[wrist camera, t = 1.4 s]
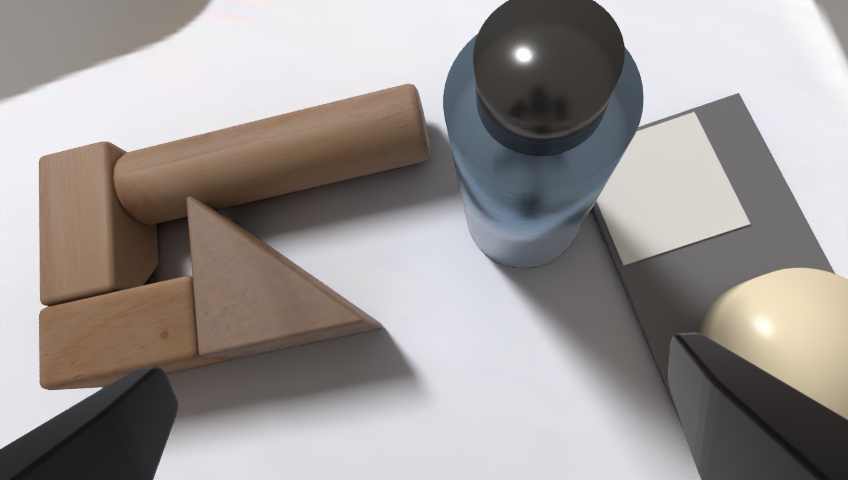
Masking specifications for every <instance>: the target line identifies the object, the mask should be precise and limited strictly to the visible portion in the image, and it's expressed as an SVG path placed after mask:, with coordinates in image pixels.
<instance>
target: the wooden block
mask: <svg viewBox="0 0 848 480" xmlns="http://www.w3.org/2000/svg"><path fill="white" fill-rule="evenodd" d="M430 157H431V145H430V140H429V135H428V130H427V125H426V121H425V116H424V112H423V108H422V104H421V100H420V96H419V93H418V90H417V89H416V87H415V86H414V85H412V84H405V85H401V86H397V87H393V88H389V89H384V90H380V91H376V92H372V93H368V94H364V95H360V96H356V97H352V98H348V99H344V100H340V101H336V102H331V103H327V104H323V105H319V106H315V107H311V108H307V109H303V110H299V111H295V112H291V113H287V114H283V115H278V116H274V117H270V118H266V119H262V120H258V121H254V122H250V123H246V124H242V125H238V126H234V127H230V128H225V129H221V130H217V131H213V132H209V133H205V134H201V135H197V136H193V137H189V138H185V139H181V140H177V141H172V142H168V143H164V144H160V145H156V146H152V147H148V148H144V149H140V150H136V151H132V152H126V151H124V150H122V149H121V148H119V147H117V146H115V145H114V144H112V143H110V142H98V143H94V144H90V145H86V146H82V147H78V148H74V149H70V150H66V151H62V152H58V153H54V154H50V155H46V156H43V157H41V158H40V160H39V227H40V301H41V303H42V304H43V305H46V306H49V307H46V308H44V309H42V310H41V312H40V314H39V354H40V385H41V387H42V388H44V389H48V390H61V389H78V388H96V387H103V386H108V385H109V384H111V383H113V382H114V381H116V380H118V379H119V378H121V377H123V376H125V375H126V374H128V373H130V372H131V371H133V370H135V369H137V368H141V367H156V366H157V367H161V368H162V369H163V370H164V371H165V373H171V372H176V371H181V370H186V369H191V368H196V367H200V366H205V365H210V364H215V363H220V362H225V361H229V360H230V359H232V358H233V357H237V358H241V357H246V356H251V355H256V354H261V353H266V352H271V351H275V350H280V349H285V348H290V347H295V346H300V345H305V344H309V343H314V342H319V341H324V340H329V339H334V338H339V337H343V336H348V335H353V334H358V333H363V332H368V331H373V330H377V329H381V328H382V325H381V323H379V322H378V321H377V320H375V319H374V318H372V317H371V316H369V315H368V314H366V313H365V312H364V311H362V310H361V309H359V308H358V307H356V306H355V305H354V304H352V303H351V302H349V301H348V300H346V299H345V298H344V297H342V296H341V295H339V294H338V293H336V292H335V291H333V290H332V289H331V288H329V287H328V286H326V285H325V284H323V283H322V282H321V281H319V280H318V279H316V278H315V277H313V276H312V275H311V274H309V273H308V272H306V271H305V270H303V269H302V268H300V267H299V266H298V265H296V264H295V263H293V262H292V261H290V260H289V259H288V258H286V257H285V256H283V255H282V254H280V253H279V252H277V251H276V250H275V249H273V248H272V247H270V246H269V245H267V244H266V243H265V242H263V241H262V240H260V239H259V238H257V237H256V236H255V235H253V234H252V233H250V232H249V231H247V230H246V229H244V228H243V227H242V226H240V225H239V224H237V223H236V222H234V221H233V220H232V219H230V218H229V217H227V216H225V215H223V214H222V213H220V212H218V211H216V210H218V209H222V208H226V207H231V206H235V205H239V204H243V203H248V202H252V201H256V200H261V199H265V198H269V197H274V196H278V195H282V194H287V193H291V192H295V191H300V190H304V189H308V188H312V187H317V186H321V185H325V184H330V183H334V182H338V181H343V180H347V179H351V178H356V177H360V176H364V175H369V174H373V173H377V172H381V171H386V170H390V169H394V168H399V167H403V166H407V165H412V164H416V163H420V162H425V161H427V160H428V159H429V158H430ZM187 216H188V224H189V237H190V249H191V261H192V274H193V277H191V276H184V277H179V278H175V279H170V280H166V281H161V282H157V283H152V284H148V285H144V284H145V283H146V281H147V280H148V279H149V277H150V276H151V274H152V273H153V272H154V270H155V269H156V267H157V266H158V262H159V255H158V239H157V223H162V222H166V221H170V220H175V219H179V218H183V217H187Z"/></svg>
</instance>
